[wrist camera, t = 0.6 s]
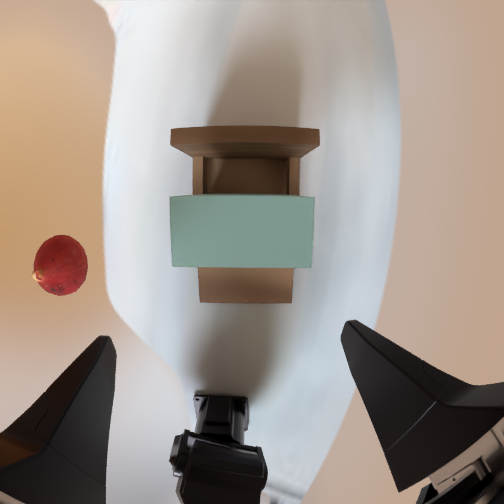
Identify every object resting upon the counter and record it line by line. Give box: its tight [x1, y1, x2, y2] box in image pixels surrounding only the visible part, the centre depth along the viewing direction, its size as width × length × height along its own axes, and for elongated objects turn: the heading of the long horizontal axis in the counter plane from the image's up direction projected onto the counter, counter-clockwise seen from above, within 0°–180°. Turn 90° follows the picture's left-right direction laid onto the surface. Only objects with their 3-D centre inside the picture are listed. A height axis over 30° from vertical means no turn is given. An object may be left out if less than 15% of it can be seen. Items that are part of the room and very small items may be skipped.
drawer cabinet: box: [170, 126, 320, 303], centre depth 20 cm, size 14×9×9 cm, turn 179°
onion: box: [32, 235, 88, 296], centre depth 21 cm, size 6×6×8 cm
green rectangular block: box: [170, 193, 315, 268], centre depth 17 cm, size 3×6×12 cm, turn 89°
